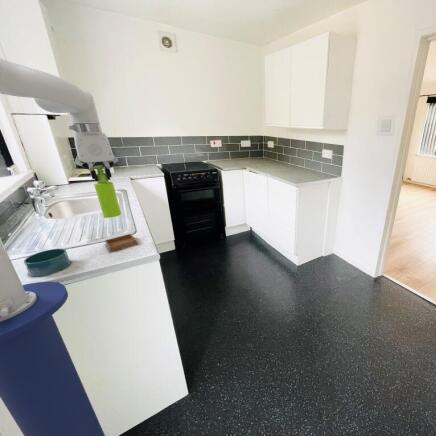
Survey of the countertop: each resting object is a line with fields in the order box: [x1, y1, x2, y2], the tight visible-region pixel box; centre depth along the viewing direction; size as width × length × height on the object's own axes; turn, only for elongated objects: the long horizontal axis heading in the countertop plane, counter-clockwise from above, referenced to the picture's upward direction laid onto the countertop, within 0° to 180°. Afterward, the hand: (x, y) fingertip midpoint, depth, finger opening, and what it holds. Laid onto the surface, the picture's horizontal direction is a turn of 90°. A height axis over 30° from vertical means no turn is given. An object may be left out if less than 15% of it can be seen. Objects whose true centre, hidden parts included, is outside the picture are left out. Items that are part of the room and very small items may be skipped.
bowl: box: [23, 248, 71, 278], centre depth 85 cm, size 11×11×5 cm
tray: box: [104, 233, 138, 253], centre depth 103 cm, size 10×10×2 cm
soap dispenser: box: [93, 164, 122, 219], centre depth 95 cm, size 6×7×20 cm
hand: (102, 179), depth 94 cm, fingers closed on soap dispenser, 3 cm apart
